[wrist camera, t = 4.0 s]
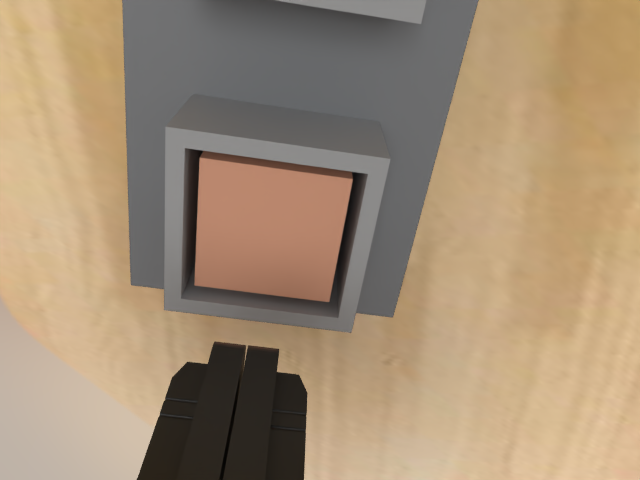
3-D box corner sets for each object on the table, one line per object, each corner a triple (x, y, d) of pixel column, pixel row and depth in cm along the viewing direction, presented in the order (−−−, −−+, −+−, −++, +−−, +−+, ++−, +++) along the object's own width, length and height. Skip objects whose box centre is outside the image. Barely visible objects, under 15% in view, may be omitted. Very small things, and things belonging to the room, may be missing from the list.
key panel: (134, -397, 15) (33, -577, 10) (543, -311, 16) (651, -435, 11) (143, 261, 26) (98, 343, 20) (388, 292, 26) (404, 379, 21)
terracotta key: (210, 137, 19) (199, 157, 17) (350, 157, 19) (352, 178, 17) (205, 257, 21) (194, 285, 20) (328, 273, 22) (329, 302, 20)
